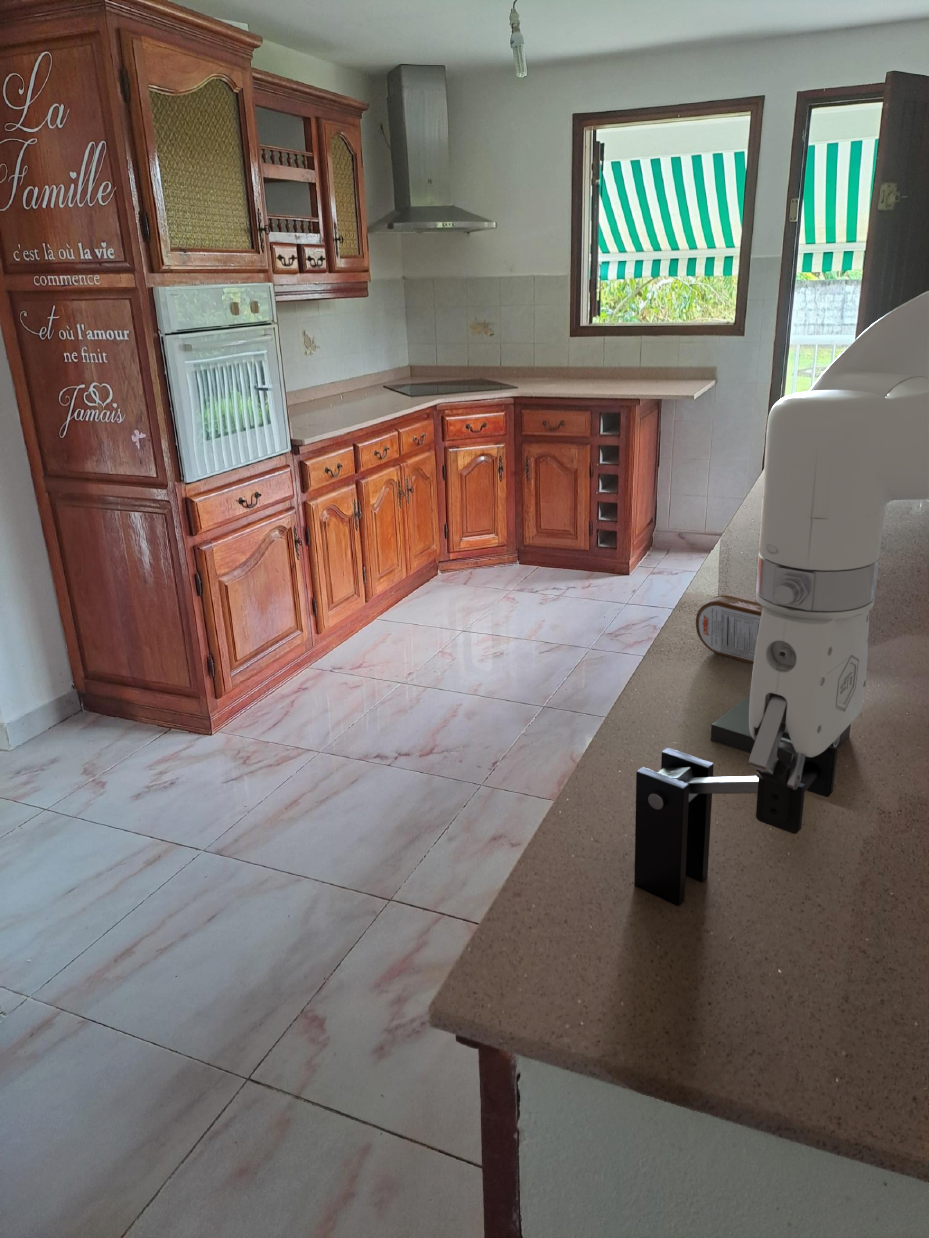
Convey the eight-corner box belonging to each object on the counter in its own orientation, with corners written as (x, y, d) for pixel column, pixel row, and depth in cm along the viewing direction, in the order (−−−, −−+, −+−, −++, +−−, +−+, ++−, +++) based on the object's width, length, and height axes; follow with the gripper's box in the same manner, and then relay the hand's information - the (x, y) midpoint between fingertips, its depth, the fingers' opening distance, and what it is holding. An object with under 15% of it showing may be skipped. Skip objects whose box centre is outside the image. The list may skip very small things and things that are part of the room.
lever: (825, 784, 67) (816, 754, 66) (797, 814, 63) (787, 783, 63) (680, 786, 76) (671, 760, 76) (649, 812, 73) (640, 785, 73)
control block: (849, 737, 100) (852, 706, 99) (813, 775, 94) (816, 742, 92) (750, 708, 108) (752, 679, 107) (710, 741, 101) (712, 710, 100)
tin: (803, 669, 117) (808, 611, 114) (792, 678, 115) (797, 618, 112) (702, 642, 127) (705, 588, 124) (691, 649, 125) (693, 594, 122)
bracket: (752, 892, 77) (762, 765, 72) (702, 949, 71) (709, 815, 66) (643, 845, 84) (646, 726, 79) (589, 893, 78) (588, 768, 73)
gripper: (820, 632, 51) (796, 886, 58) (915, 555, 63) (885, 774, 70) (703, 607, 56) (693, 844, 63) (811, 539, 68) (793, 746, 74)
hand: (794, 805), depth 66 cm, fingers closed on lever, 5 cm apart
